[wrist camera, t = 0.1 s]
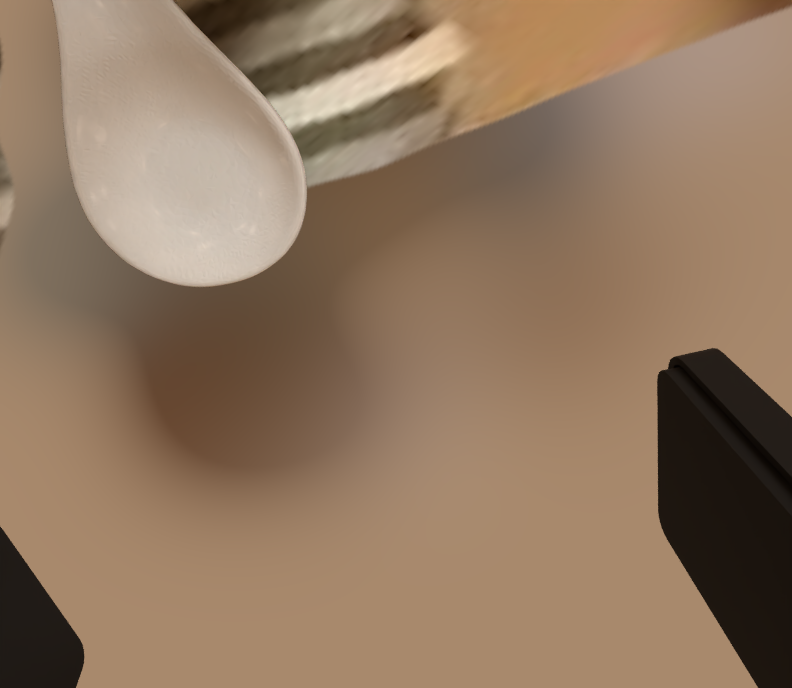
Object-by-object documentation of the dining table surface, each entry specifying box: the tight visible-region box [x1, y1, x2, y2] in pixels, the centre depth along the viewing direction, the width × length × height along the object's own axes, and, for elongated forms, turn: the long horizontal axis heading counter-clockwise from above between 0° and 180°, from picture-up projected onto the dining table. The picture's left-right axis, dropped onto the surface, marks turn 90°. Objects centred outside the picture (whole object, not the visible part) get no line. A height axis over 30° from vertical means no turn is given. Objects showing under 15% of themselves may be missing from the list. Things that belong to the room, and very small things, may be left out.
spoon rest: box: [52, 0, 307, 287], centre depth 31 cm, size 24×12×7 cm, turn 13°
